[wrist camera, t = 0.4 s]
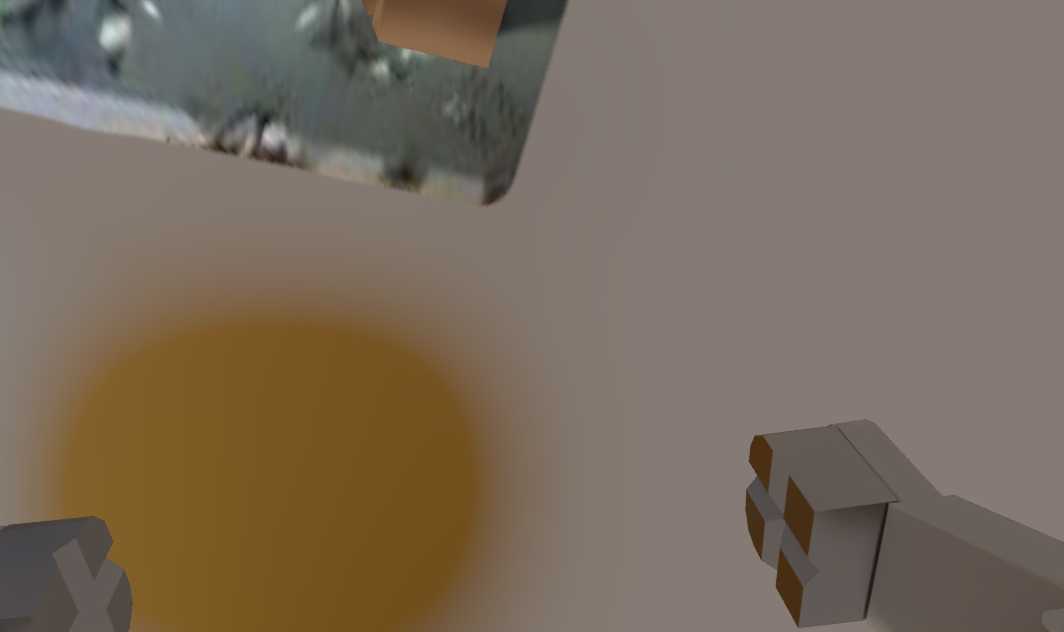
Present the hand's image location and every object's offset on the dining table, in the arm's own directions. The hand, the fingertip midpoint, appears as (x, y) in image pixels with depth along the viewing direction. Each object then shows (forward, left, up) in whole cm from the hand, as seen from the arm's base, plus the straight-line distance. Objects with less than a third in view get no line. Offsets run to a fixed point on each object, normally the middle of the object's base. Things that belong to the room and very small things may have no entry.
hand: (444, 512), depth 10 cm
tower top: (+1, +10, -45) cm, 46 cm away
